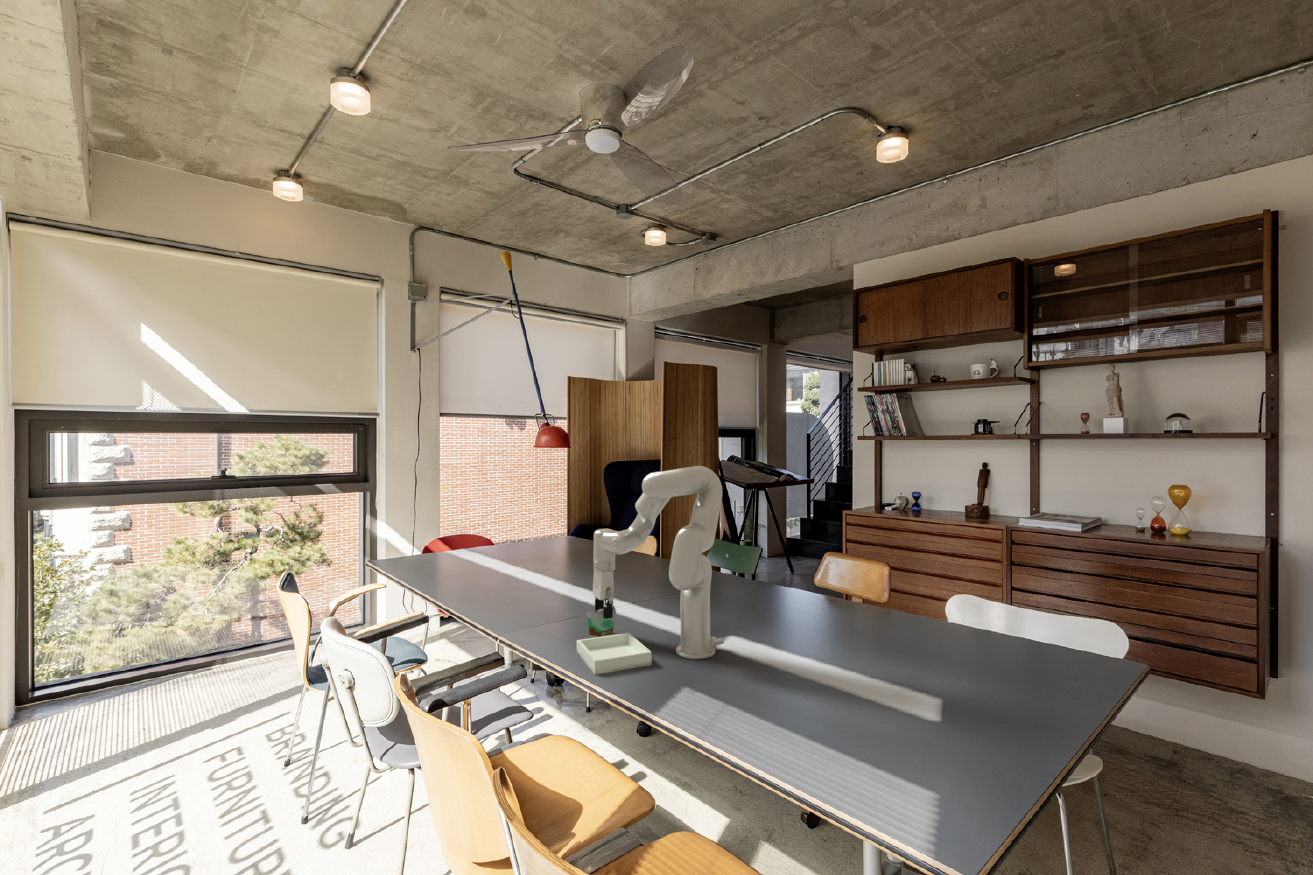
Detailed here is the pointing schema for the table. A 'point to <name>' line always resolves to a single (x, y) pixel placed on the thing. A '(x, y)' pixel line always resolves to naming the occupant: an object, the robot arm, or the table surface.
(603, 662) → the tray
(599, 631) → the food container
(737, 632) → the table surface
